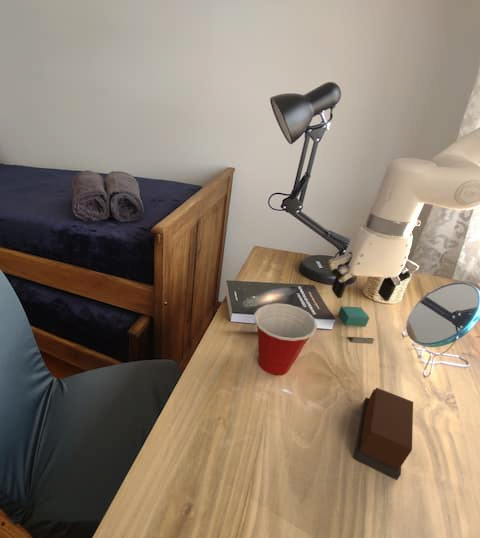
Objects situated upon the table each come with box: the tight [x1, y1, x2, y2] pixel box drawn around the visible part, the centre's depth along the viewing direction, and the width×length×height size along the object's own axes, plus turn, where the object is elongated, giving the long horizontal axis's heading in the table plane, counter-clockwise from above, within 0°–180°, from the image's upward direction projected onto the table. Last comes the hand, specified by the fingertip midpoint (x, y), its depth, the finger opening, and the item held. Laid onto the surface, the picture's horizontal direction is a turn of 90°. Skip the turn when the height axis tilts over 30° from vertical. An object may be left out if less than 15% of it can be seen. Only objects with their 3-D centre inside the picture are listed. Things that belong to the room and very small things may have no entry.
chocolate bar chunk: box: [353, 387, 414, 481], centre depth 57 cm, size 13×6×6 cm, turn 144°
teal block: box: [337, 305, 375, 345], centre depth 81 cm, size 9×4×4 cm, turn 174°
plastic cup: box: [253, 302, 318, 376], centre depth 69 cm, size 11×11×12 cm
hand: (359, 295), depth 79 cm, fingers open, 9 cm apart
